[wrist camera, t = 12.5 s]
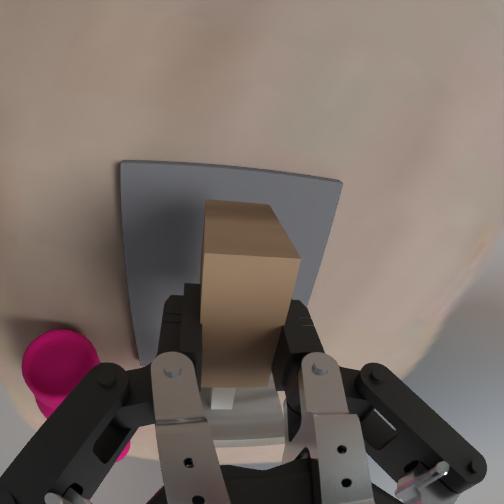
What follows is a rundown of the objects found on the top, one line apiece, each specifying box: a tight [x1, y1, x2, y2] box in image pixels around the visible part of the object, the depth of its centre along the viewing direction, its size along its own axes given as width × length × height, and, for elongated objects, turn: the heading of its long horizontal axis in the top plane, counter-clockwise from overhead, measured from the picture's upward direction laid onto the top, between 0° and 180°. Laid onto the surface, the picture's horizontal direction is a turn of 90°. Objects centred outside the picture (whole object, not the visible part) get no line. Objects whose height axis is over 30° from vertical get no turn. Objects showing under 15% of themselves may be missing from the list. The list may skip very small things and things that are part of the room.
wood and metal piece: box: [199, 199, 301, 447], centre depth 13 cm, size 12×7×5 cm, turn 171°
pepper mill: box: [22, 329, 130, 462], centre depth 22 cm, size 7×7×20 cm
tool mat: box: [121, 160, 343, 366], centre depth 19 cm, size 16×12×1 cm
